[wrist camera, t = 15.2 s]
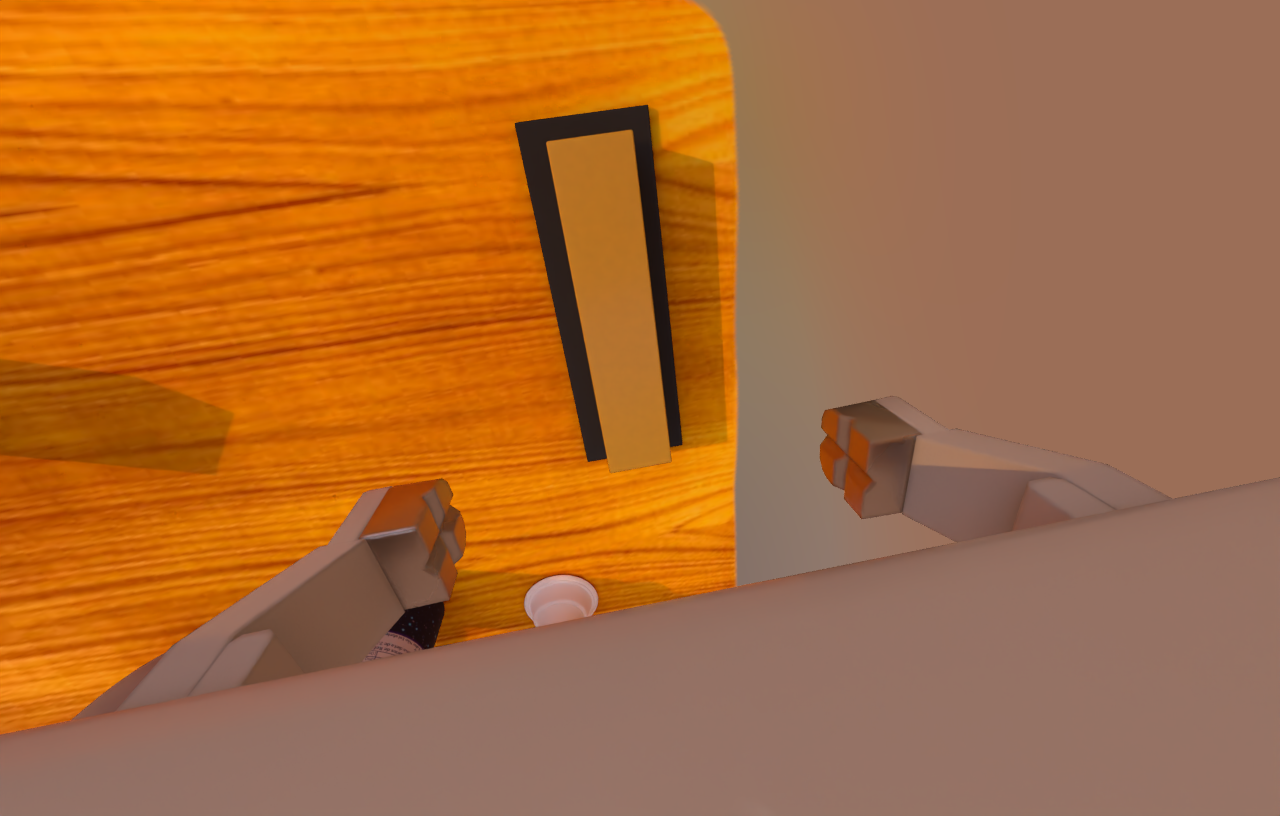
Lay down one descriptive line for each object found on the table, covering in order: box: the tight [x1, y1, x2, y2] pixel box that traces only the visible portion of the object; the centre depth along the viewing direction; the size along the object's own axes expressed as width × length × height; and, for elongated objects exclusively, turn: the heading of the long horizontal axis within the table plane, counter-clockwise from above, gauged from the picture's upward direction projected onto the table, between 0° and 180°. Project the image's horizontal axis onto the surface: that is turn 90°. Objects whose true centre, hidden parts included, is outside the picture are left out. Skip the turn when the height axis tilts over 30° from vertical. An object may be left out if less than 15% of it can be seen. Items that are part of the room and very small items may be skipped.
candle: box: [524, 575, 598, 627], centre depth 28 cm, size 5×5×12 cm
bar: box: [546, 130, 672, 473], centre depth 23 cm, size 4×16×3 cm, turn 8°
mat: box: [515, 105, 682, 462], centre depth 24 cm, size 18×6×1 cm, turn 7°
